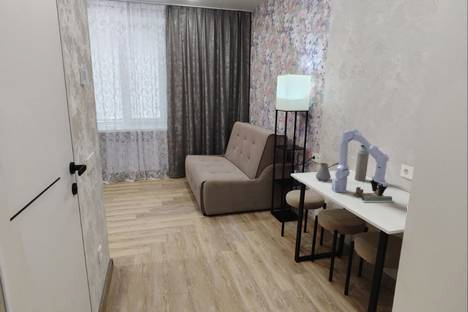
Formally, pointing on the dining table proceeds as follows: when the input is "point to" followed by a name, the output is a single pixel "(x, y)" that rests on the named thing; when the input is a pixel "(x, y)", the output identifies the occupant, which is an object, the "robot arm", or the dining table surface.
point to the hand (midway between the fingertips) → (377, 193)
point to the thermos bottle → (361, 164)
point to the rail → (376, 198)
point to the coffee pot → (324, 172)
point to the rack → (360, 193)
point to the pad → (376, 201)
